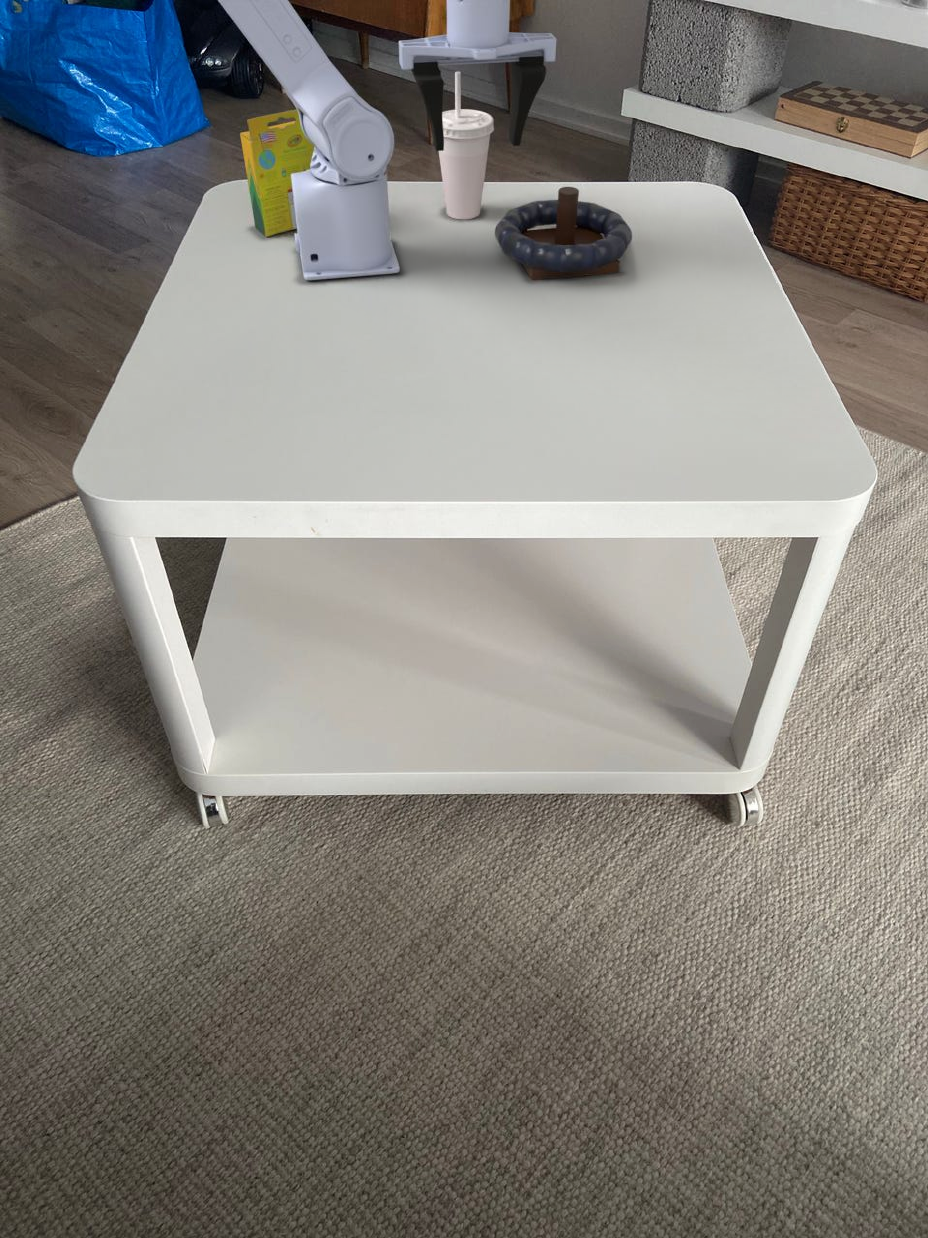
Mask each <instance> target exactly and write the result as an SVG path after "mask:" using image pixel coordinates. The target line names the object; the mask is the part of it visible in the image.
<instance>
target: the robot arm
mask: <svg viewBox="0 0 928 1238" xmlns="http://www.w3.org/2000/svg"><path fill="white" fill-rule="evenodd" d="M217 1H218V3H219V4H220V5H221V7H222V8H223V9H224V11H225V12H226V14H227V15H228V16H229V17H230V18H231V20H232V21H233V23H234V24H235V25H236V27H237V28H238V29H239V30H240V32H241V33H242V35H243V36H244V38H246V39H247V41H248V42H249V44H250V45H251V46H252V48H253V49H254V50H255V52H256V53H257V54H258V56H259V57H260V58H261V60H262V61H263V62H264V64H265V65H266V67H267V68H268V69H269V70H270V72H271V74H272V75H274V77H275V78H276V80H277V81H278V82H279V84H280V85H281V86H282V88H283V90H284V92H285V94H286V95H287V97H288V98H289V100H290V101H291V102H292V104H293V106H295V108H296V109H297V111H298V114H299V119H300V123H301V128H302V130H303V133H304V134H305V136H306V138H307V139H308V140H309V141H310V143H312V144H313V145H314V152H313V156H312V159H311V163H310V166H311V169H309V170H306V171H303V172H298V173H293V174H291V182H292V191H293V200H294V208H295V216H296V225H297V229H296V232H294V234H293V235H294V242H295V243H294V244H295V250H296V253H297V254H298V253H299V256H300V262H301V269H302V275H303V279H304V280H305V281H318V280H331V279H341V278H354V277H355V278H356V277H366V276H377V275H378V276H379V275H380V276H381V275H389V274H398V273H400V272H401V267H400V264H399V261H398V258H397V255H396V251H395V248H394V245H393V242H392V239H391V226H390V225H391V224H390V206H389V205H390V204H389V187H388V186H389V183H388V164H389V163H390V162H391V159H392V157H393V153H394V149H395V135H394V134H395V133H394V130H393V128H392V125H391V123H390V121H389V120H388V118H387V117H386V116H385V114H384V113H382V112H381V111H379V110H378V109H376V108H374V107H373V106H371V105H370V104H369V103H368V102H367V101H365V100H364V99H363V97H361V96H360V95H359V94H358V92H357V91H356V90H355V89H354V88H353V87H352V86H351V84H350V83H349V82H348V81H347V80H346V79H345V77H344V76H343V75H342V73H341V72H340V71H339V70H338V68H336V66H335V65H334V64H333V63H332V61H331V60H330V58H328V56H327V54H326V53H325V52H324V50H323V48H322V47H321V46H320V44H319V43H318V42H317V40H316V39H315V37H314V35H312V33H311V31H310V30H309V28H308V27H307V26H306V24H305V23H304V21H303V20H302V18H301V16H300V15H299V14H298V12H297V11H296V10H295V9H294V7H293V6H292V4H291V2H290V1H289V0H217ZM510 10H511V0H446V34H441V35H434V36H429V37H424V38H423V37H422V38H415V39H407V40H406V39H405V40H399V41H398V59H399V60H398V61H399V65H400V67H401V69H402V70H403V71H406V70H408V71H409V70H410V71H411V73H412V75H413V78H414V79H415V82H416V85H417V87H418V90H419V92H420V96H421V98H422V101H423V104H424V107H425V110H426V113H427V117H428V121H429V124H430V125H429V126H430V129H431V130H430V131H431V135H432V144H433V146H434V147H433V148H434V149H435V151H436V152H439V151H444V134H443V121H442V112H443V103H444V84H445V81H444V80H443V78H442V72H441V69H440V68H439V66H440V67H441V66H458V65H459V66H460V65H475V64H493V63H495V64H496V63H497V64H498V63H509V76H510V78H509V79H510V105H509V106H510V108H509V120H508V140H509V141H510V143H511V145H512V147H520V146H521V143H522V137H523V133H524V129H525V125H526V123H527V119H528V115H529V113H530V111H531V107H532V105H533V103H534V100H535V99H536V96H537V94H538V93H539V90H540V89H541V87H542V85H543V83H544V81H545V79H546V75H547V66H546V65H544V63H554V62H556V57H557V56H556V53H557V38H556V37H555V36H554V34H552V33H551V32H548V33H537V32H535V33H533V32H532V33H531V32H510V17H511V15H510V12H511V11H510Z"/></svg>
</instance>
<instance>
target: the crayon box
mask: <svg viewBox="0 0 928 1238" xmlns="http://www.w3.org/2000/svg"><path fill="white" fill-rule="evenodd" d="M281 118H283V119H285V120H288V119H291V118H292V119H294V120H293V121H289V122H284V123H279V124H275V125H271V126H269V125H268V124H270V123H273V122H277V121H278V120H279V119H281ZM246 123H247V127H248V131H243V132H240V133H239V135H240V142H241V147H242V153H243V159H244V166H245V171H246V178H247V185H248V190H249V197H250V202H251V203H250V204H251V208H252V209H251V210H252V216H253V223H254V227H255V229H256V230H257V231H258V232H259V233H261V234H262V235H263V236H264V237H266V238H269V237H272V236H273V235H277V234H281V233H284V232H290V231H292V230H297V225H296V216H295V208H294V200H293V191H292V182H291V174H293V173H298V172H303V171H306V170H309V169H311V166H310V163H311V159H312V156H313V152H314V145H313V144H312V143H310V141H309V140H308V139H307V138H306V136H305V134H304V133H303V130H302V128H301V123H300V119H299V114H298V111H297V109H291V110H286V111H281V112H277V113H271V114H267V115H262V116H257V117H252V118H248V119H246Z"/></svg>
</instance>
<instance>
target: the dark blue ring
mask: <svg viewBox="0 0 928 1238" xmlns="http://www.w3.org/2000/svg"><path fill="white" fill-rule="evenodd" d="M557 205H558V199H548V200H547V199H546V200H533V201H531V202H528V203H524V204H522V205H519V206H517V207H514V208H511V209H509V210H508V211H506V212H505V214H504V216H503V217H502V218H501V219H500V220H499V222H498V223H497V224H496V226H495V229H494V237H495V239H496V242H497V243H498V245H499V248H500V249H501V252H502V253H503V255H505V256H506V257H508V258H510V259H512V260H514V261H517V262H519V263H521V264H522V265H523V264H524V265H526V266H529V267H532V268H538V269H545V270H552V271H558V272H570V271H582V270H593V269H597V268H599V267H602V266H604V265H607V264H609V263H611V262H614V261H616V260H618V259H619V260H620V259H622V258H623V256H624V254H625V253H626V252H627V250H628V247H629V245H630V244H631V242H632V239H633V232H632V228H630V226H629V225H628V224H627V222H626V220H624V218H623V217H622V215H621V214H620V213H618V212H616V211H615V210H612V209H609V208H607V207H604V206H602V205H600V204H598V203H594V202H588V201H581V200H578V209H577V221H576V226H579V227H587V228H589V229H592V230H594V231H596V232H598V233H601V235H602V236H603V239H600V240H598V241H595V242H593V243H589V244H576V245H557V244H550V243H544V242H537V241H535V240H533V239H531V238H529V237H526V236H524V235H522V234H521V233H522V232H523V231H526V230H532V229H534V228H536V227H543V226H556V219H557ZM524 265H523V266H524Z"/></svg>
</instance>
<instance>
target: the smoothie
mask: <svg viewBox="0 0 928 1238" xmlns="http://www.w3.org/2000/svg"><path fill="white" fill-rule="evenodd" d="M461 74H462V73H461V71H455V72H454V84H455V85H454V105H455V106H454V109H449V110H445V111H442V121H443V134H444V151H438V157H439V164H440V165H439V166H440V173H441V181H442V187H443V195H444V203H445V210H446V215H447V216H448V217H449V218H452V219H456V220H472V219H475V218H477V217H478V216H480V214H481V207H482V200H483V193H484V192H483V191H484V185H485V178H486V169H487V163H488V155H489V149H490V139H491V133H493V132H494V130H495V126H494V118H493V116H492V115H491V114H490V113H487V112H484V111H482V110H477V109H469V108H467V109H466V108H464V109H463V108H461V105H462V104H461V103H462V102H461V101H462V94H461V93H462V92H461V90H462V89H461V87H462V85H461V83H462V78H461V77H462V76H461Z"/></svg>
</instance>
